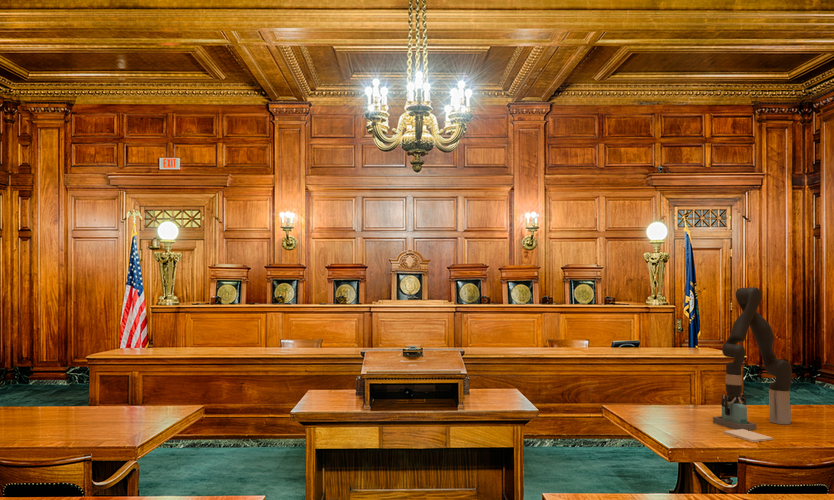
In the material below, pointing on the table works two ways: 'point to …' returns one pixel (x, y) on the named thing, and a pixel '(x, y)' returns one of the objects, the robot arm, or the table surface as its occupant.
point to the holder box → (734, 424)
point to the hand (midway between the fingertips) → (733, 414)
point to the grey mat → (747, 435)
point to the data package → (736, 413)
